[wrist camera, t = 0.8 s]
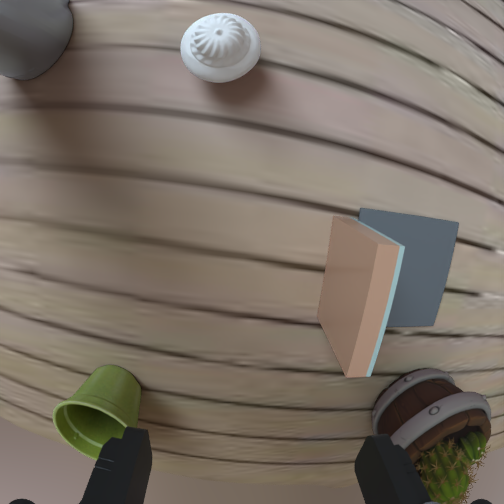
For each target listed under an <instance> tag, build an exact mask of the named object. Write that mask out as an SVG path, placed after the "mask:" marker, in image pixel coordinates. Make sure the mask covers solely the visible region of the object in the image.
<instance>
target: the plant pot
mask: <svg viewBox="0 0 504 504" xmlns="http://www.w3.org/2000/svg"><path fill="white" fill-rule="evenodd" d="M140 400H141V387H140V385H139V384H138V383H137V381H136V380H135V378H134V376H133V375H132V374H131V373H130V372H128V371H127V370H125V369H123V368H120V367H118V366H114V365H106V366H103V367H100V368H97V369H96V370H95V371H94V372H93V373H92V375H91V376H90V377H89V378H88V379H87V380H86V382H85V383H84V384H83V385H82V386H81V387H80V388H79V390H78V391H77V392H76V393H75V394H74V395H73V396H72V397H70V398H68V399H67V400H66V401H63V402H61V403H59V404H58V405H57V406H56V407H55V409H54V411H53V422H54V425H55V427H56V429H57V431H58V432H59V434H60V435H61V436H62V438H63V439H64V440H65V441H66V442H67V443H68V444H69V445H70V446H72V447H73V448H75V449H76V450H77V451H79V452H80V453H82V454H83V455H86V456H87V457H89V458H92V459H94V460H97V459H98V456H99V453H100V451H101V448H102V446H103V445H104V444H105V443H106V442H107V441H108V440H109V439H110V438H111V437H115V438H120V439H122V436H123V433H124V431H125V428H126V427H127V426H129V427H135V428H137V423H138V414H139V406H140Z"/></svg>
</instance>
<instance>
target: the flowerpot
mask: <svg viewBox="0 0 504 504" xmlns="http://www.w3.org/2000/svg"><path fill="white" fill-rule="evenodd" d="M490 420H491V409H490V406H489V404H488V402H487V400H486V395H481V394H479V393H476V392H463V391H462V390H461V389H459V388H458V387H456V386H455V383H454V380H453V379H452V378H451V377H450V376H449V374H448V372H442V371H440V370H438V369H422V370H421V369H417V370H414V371H411V372H409V373H406V374H404V375H403V376H401V377H400V378H398V379H397V380H395V381H394V382H393V383H392V384H391V385H390V386H389V389H388V388H386V389H384V390H383V392H382V393H381V394H380V395H379V397H378V398H377V400H376V403H375V406H374V409H373V412H372V428H373V433H374V435H380V434H388V435H389V436H390V438H391V440H392V442H393V444H394V445H397V444H399V445H400V446H401V447H402V448H403V449H404V450H405V451H407V452H408V454H409V456H410V458H411V460H412V464H414V466H415V468H416V472H418V474H419V476H420V478H421V480H422V482H423V484H424V486H425V488H426V490H427V492H428V494H429V496H430V498H431V500H432V501H433V502H437V503H440V504H460V503H462V502H460V503H459V501H464V500H465V499H466V498H465V497H467V496H466V492H469V491H467V490H466V489H467V487H468V485H469V484H470V482H474V481H472V480H473V479H472V478H471V477H470V476H471V475H470V476H468V475H469V474H468V470H469V469H470V468H471V465H473V464H475V463H477V466H478V468H479V462H481V461H479V459H480V458H481V457H482V456H484V455H483V454H484V452H485V453H487V452H486V450H487V449H488V448H487V449H485V448H486V447H485V446H486V443H487V442H488V440H489V438H490V434H491V429H490V428H491V424H490ZM490 446H491V444H490ZM487 447H488V446H487ZM489 448H490V447H489ZM484 457H485V456H484ZM481 463H482V462H481ZM481 466H482V465H481ZM467 468H468V469H467ZM471 469H472V468H471ZM471 469H470V471H471ZM470 473H472V472H470ZM474 476H475V475H474ZM472 477H473V476H472ZM470 479H471V480H470ZM475 483H476V482H475ZM464 494H465V495H464ZM464 496H465V497H464ZM465 501H466V500H465ZM466 503H467V501H466Z"/></svg>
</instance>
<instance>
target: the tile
mask: <svg viewBox="0 0 504 504" xmlns="http://www.w3.org/2000/svg"><path fill="white" fill-rule="evenodd" d="M404 249H405V246H403V245H401V244H400V243H398V242H396V241H394V240H393V239H391V238H389V237H387V236H386V235H384V234H382V233H380V232H378V231H377V230H375V229H373V228H371V227H369V226H368V225H366V224H364V223H362V222H360V221H358V220H356V219H355V218H350V217H341V216H333V221H332V228H331V235H330V242H329V249H328V255H327V262H326V268H325V274H324V280H323V286H322V292H321V297H320V303H319V308H318V314H317V318H318V320H319V322H320V324H321V326H322V328H323V330H324V332H325V334H326V336H327V338H328V340H329V343H330V345H331V347H332V349H333V351H334V353H335V355H336V357H337V359H338V362H339V364H340V366H341V368H342V370H343V372H344V374H345V377H346V378H352V377H370V376H371V373H372V370H373V367H374V364H375V361H376V358H377V355H378V352H379V349H380V345H381V342H382V339H383V335H384V332H385V328H386V325H387V321H388V318H389V314H390V310H391V306H392V302H393V298H394V294H395V290H396V286H397V282H398V277H399V273H400V268H401V264H402V259H403V254H404Z"/></svg>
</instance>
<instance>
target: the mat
mask: <svg viewBox="0 0 504 504" xmlns="http://www.w3.org/2000/svg"><path fill="white" fill-rule="evenodd" d="M358 221H360V222H362V223H364V224H366V225H368V226H369V227H371V228H373V229H375V230H377V231H378V232H380V233H382V234H384V235H386V236H387V237H389V238H391V239H393V240H394V241H396V242H398V243H400V244H401V245H403V246H405V249H404V254H403V259H402V264H401V268H400V273H399V277H398V282H397V286H396V290H395V294H394V298H393V302H392V306H391V310H390V314H389V318H388V321H387V325H386V327H408V326H433V325H434V322H435V319H436V315H437V312H438V309H439V305H440V302H441V299H442V295H443V291H444V288H445V284H446V280H447V276H448V272H449V268H450V264H451V260H452V255H453V251H454V246H455V241H456V236H457V231H458V226H459V223H458V222H452V221H446V220H440V219H434V218H428V217H421V216H415V215H408V214H401V213H394V212H387V211H380V210H373V209H365V208H360V214H359V220H358Z"/></svg>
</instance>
